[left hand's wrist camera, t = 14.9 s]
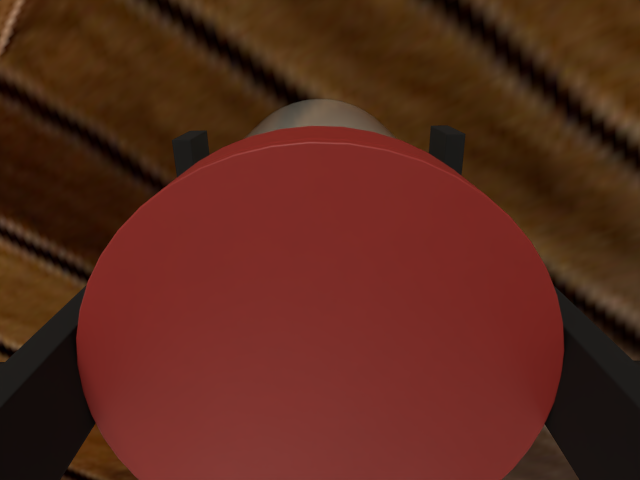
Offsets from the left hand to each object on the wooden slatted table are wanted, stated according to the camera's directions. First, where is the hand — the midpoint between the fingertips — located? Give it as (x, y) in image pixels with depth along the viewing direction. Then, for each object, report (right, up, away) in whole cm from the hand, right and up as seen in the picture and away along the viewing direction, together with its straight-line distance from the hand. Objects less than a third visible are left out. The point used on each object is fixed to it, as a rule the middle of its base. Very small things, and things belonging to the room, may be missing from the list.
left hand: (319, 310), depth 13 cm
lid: (0, -1, -3) cm, 3 cm away
